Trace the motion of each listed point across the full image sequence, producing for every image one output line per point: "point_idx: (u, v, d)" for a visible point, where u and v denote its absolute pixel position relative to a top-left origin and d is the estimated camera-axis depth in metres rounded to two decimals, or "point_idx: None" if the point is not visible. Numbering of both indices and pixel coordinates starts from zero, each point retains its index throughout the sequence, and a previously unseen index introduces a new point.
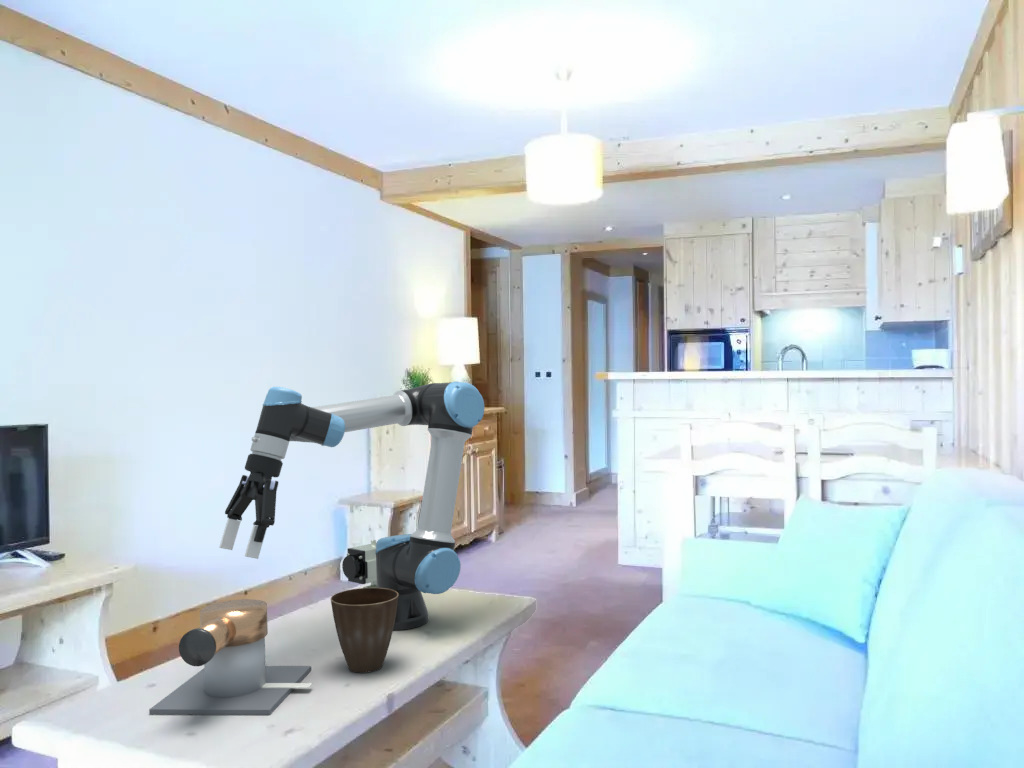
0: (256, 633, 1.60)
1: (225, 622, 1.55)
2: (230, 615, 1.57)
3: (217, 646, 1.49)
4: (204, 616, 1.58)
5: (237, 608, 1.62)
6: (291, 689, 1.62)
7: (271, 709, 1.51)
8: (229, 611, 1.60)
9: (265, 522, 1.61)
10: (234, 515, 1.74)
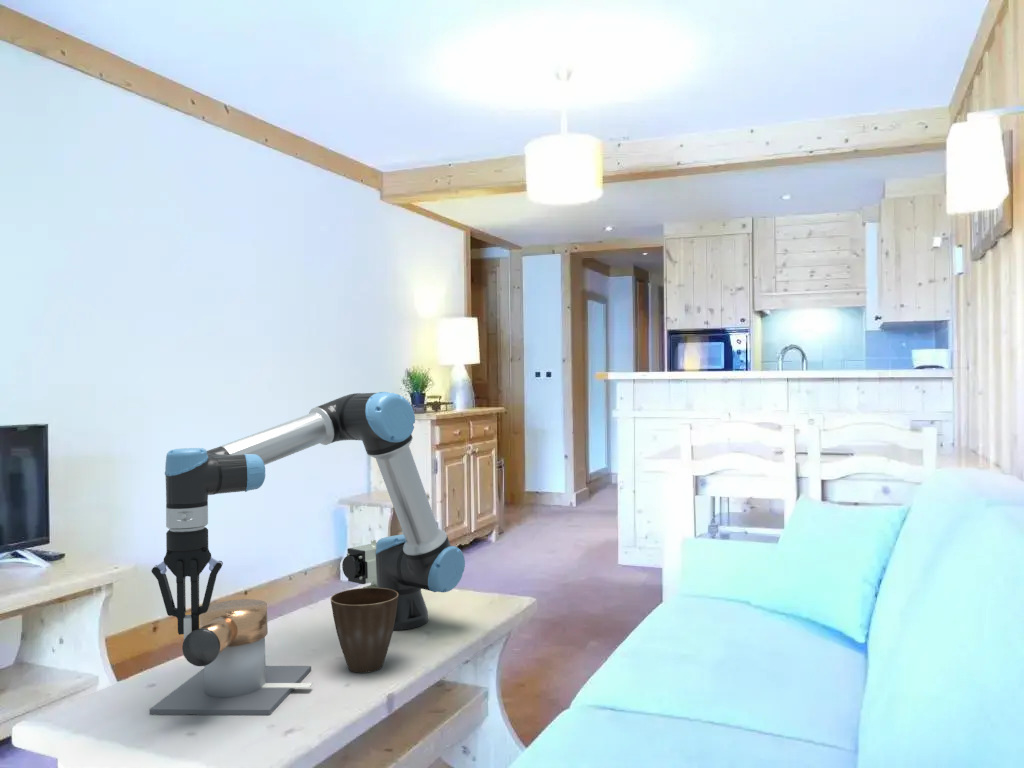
0: (258, 632, 1.60)
1: (227, 622, 1.55)
2: (231, 615, 1.57)
3: (221, 646, 1.49)
4: (205, 616, 1.58)
5: (237, 608, 1.62)
6: (291, 689, 1.62)
7: (271, 709, 1.51)
8: (230, 611, 1.60)
9: None
10: (184, 612, 1.51)
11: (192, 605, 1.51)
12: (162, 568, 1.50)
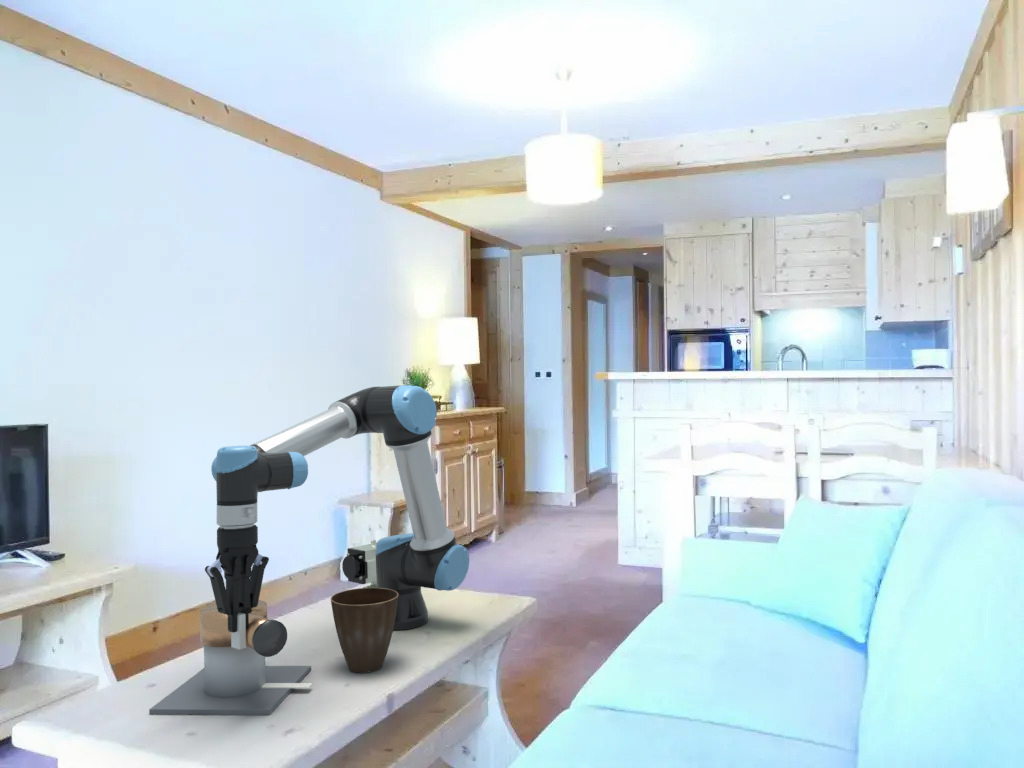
0: None
1: None
2: (254, 610, 1.60)
3: None
4: (227, 617, 1.57)
5: None
6: (291, 689, 1.62)
7: (271, 709, 1.51)
8: None
9: None
10: None
11: (245, 601, 1.52)
12: (218, 567, 1.48)
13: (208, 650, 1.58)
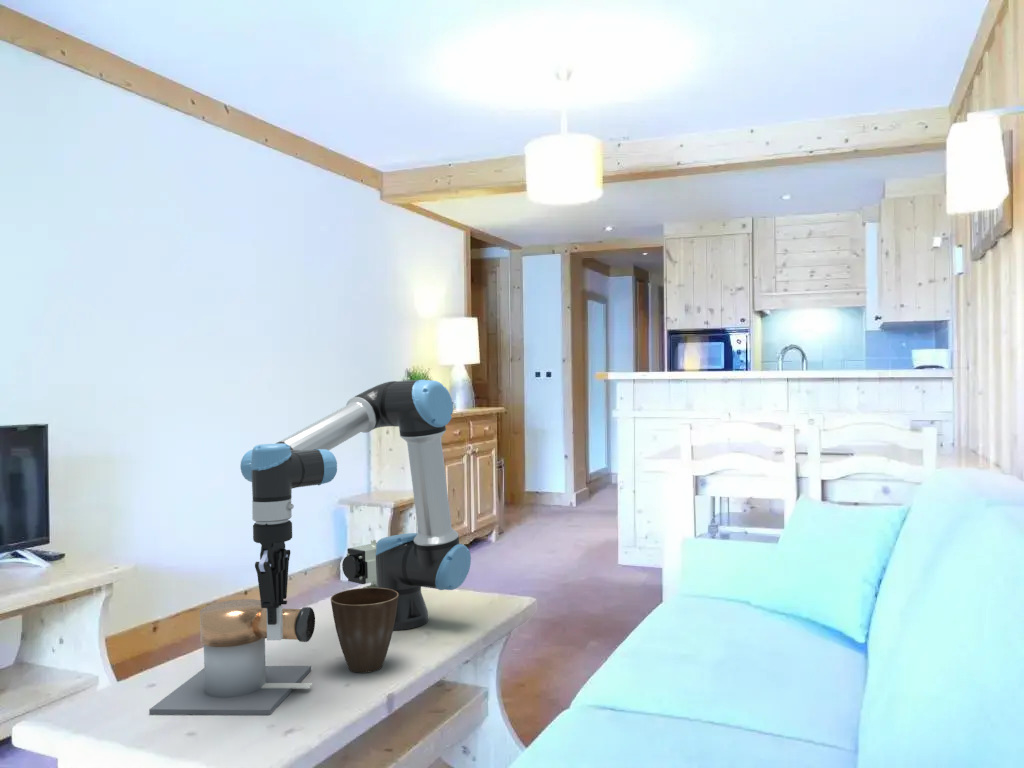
0: None
1: None
2: None
3: None
4: (248, 614, 1.58)
5: (239, 606, 1.64)
6: (291, 689, 1.62)
7: (271, 709, 1.51)
8: (246, 607, 1.63)
9: None
10: None
11: (281, 593, 1.58)
12: None
13: (208, 650, 1.58)
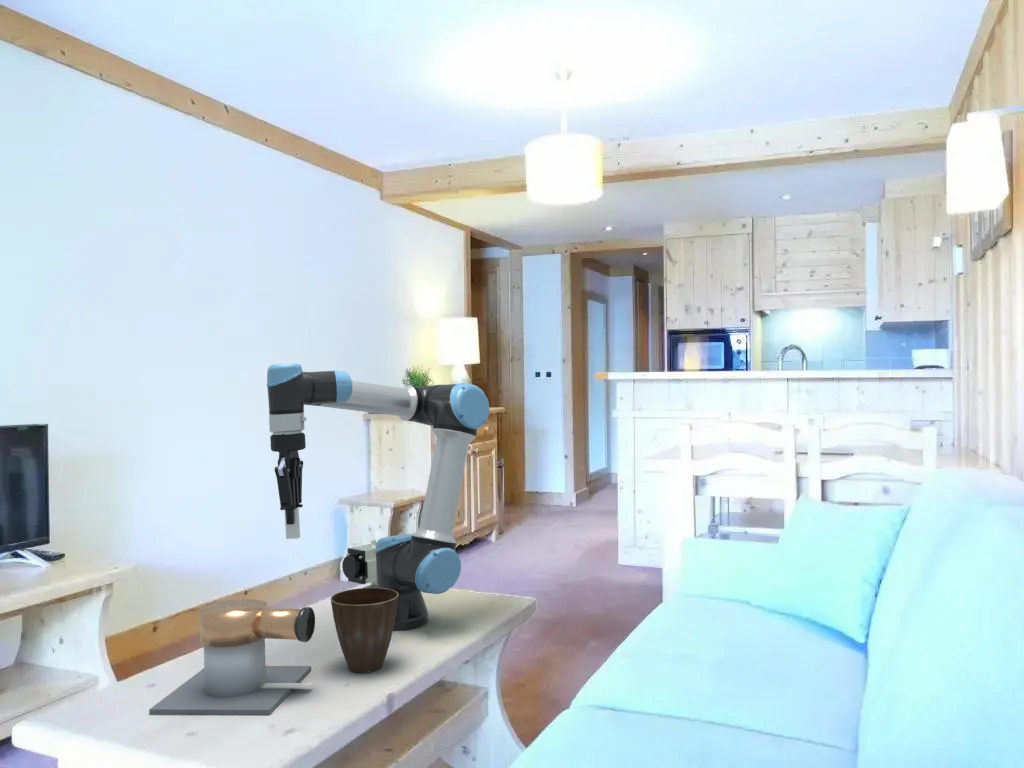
0: None
1: None
2: (263, 606, 1.64)
3: None
4: (248, 614, 1.58)
5: (239, 606, 1.64)
6: (291, 689, 1.62)
7: (271, 709, 1.51)
8: (246, 607, 1.63)
9: None
10: None
11: (297, 497, 1.76)
12: None
13: (208, 650, 1.58)
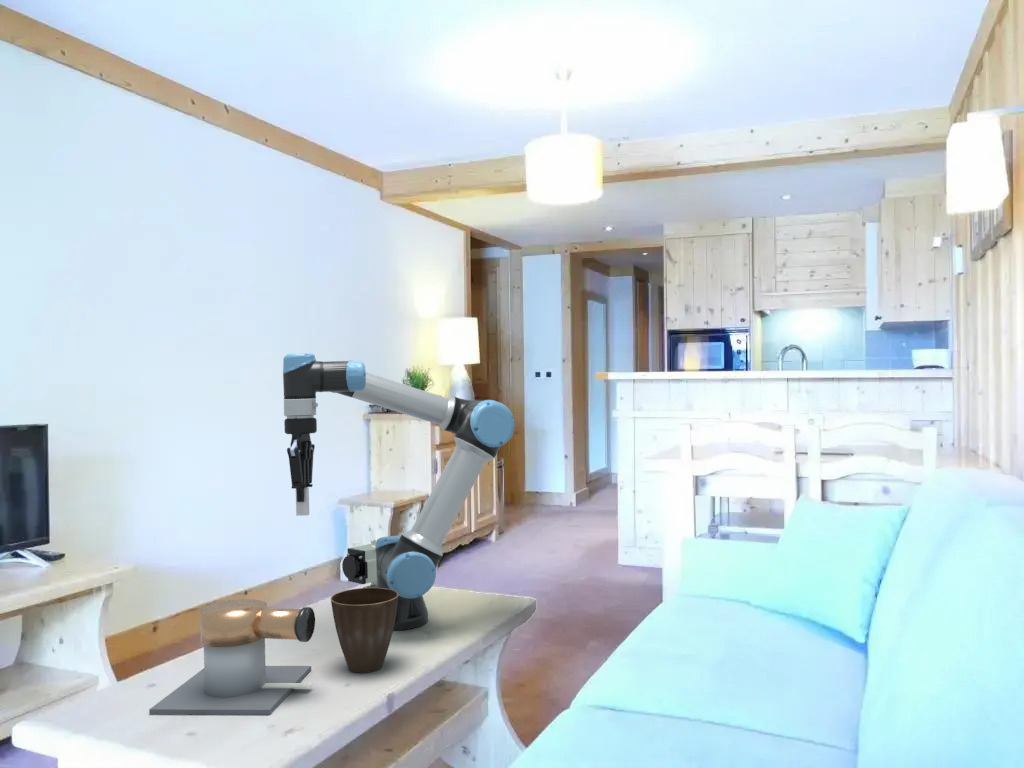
0: None
1: None
2: (263, 606, 1.64)
3: None
4: (248, 614, 1.58)
5: (239, 606, 1.64)
6: (291, 689, 1.62)
7: (271, 709, 1.51)
8: (246, 607, 1.63)
9: None
10: None
11: (308, 477, 1.90)
12: None
13: (208, 650, 1.58)
